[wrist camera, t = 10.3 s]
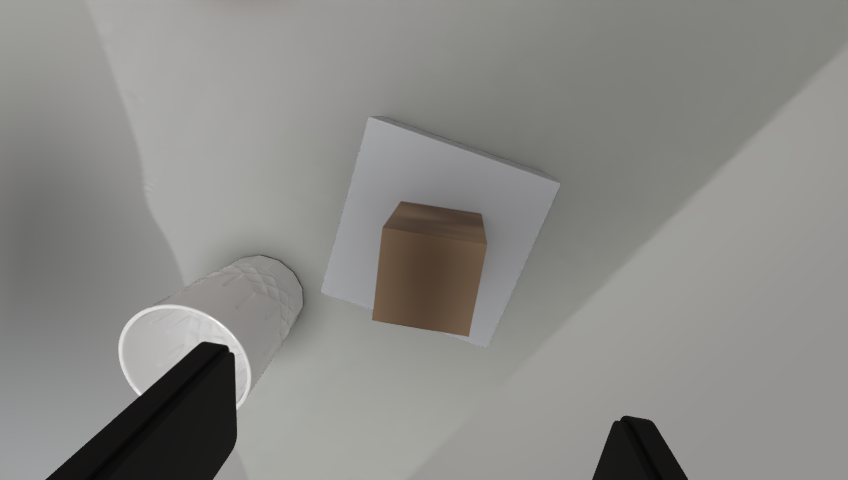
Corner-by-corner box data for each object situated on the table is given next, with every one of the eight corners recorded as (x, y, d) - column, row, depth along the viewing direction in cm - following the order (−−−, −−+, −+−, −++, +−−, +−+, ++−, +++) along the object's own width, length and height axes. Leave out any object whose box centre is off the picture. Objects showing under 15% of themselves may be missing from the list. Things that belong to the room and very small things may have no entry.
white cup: (261, 351, 34) (186, 442, 24) (197, 281, 32) (90, 349, 23) (330, 305, 32) (278, 384, 23) (266, 228, 31) (181, 279, 21)
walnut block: (481, 213, 24) (487, 244, 18) (467, 287, 26) (468, 336, 20) (400, 201, 24) (382, 227, 19) (391, 274, 26) (372, 320, 20)
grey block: (543, 172, 28) (560, 183, 23) (482, 314, 32) (487, 348, 27) (383, 116, 28) (368, 116, 23) (340, 265, 32) (320, 292, 27)
